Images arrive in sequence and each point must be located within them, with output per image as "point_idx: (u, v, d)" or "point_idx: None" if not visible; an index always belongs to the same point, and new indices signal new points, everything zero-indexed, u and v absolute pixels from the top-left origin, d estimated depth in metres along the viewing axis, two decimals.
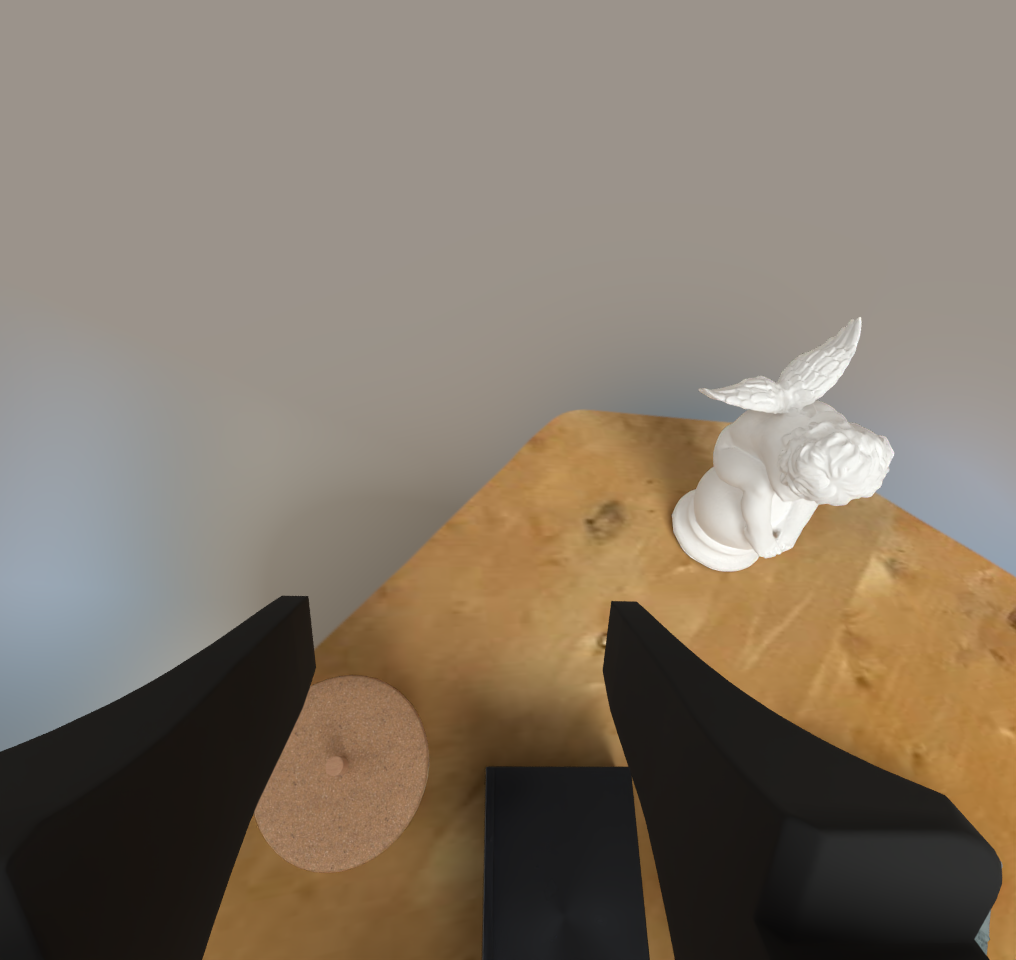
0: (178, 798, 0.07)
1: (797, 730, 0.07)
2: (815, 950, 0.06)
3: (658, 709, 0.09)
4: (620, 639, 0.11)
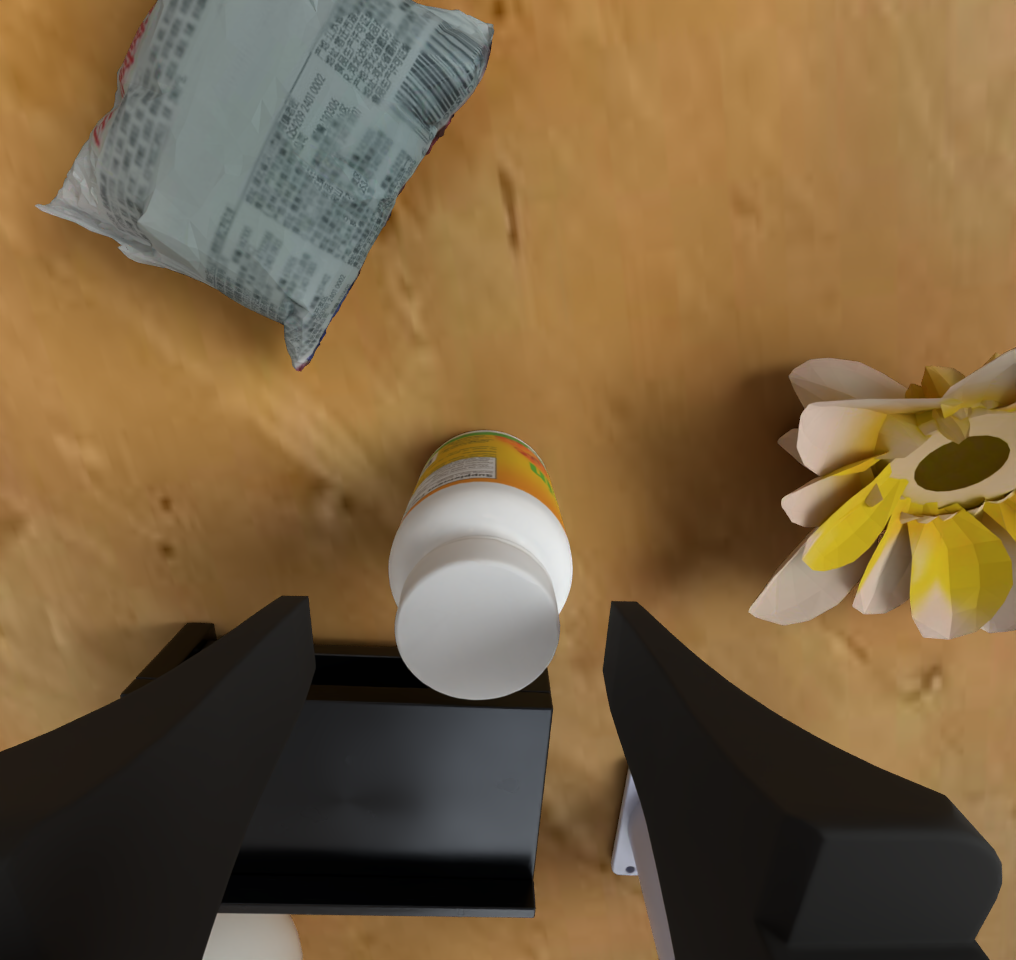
0: (179, 797, 0.07)
1: (797, 730, 0.07)
2: (815, 950, 0.06)
3: (658, 709, 0.09)
4: (620, 639, 0.11)
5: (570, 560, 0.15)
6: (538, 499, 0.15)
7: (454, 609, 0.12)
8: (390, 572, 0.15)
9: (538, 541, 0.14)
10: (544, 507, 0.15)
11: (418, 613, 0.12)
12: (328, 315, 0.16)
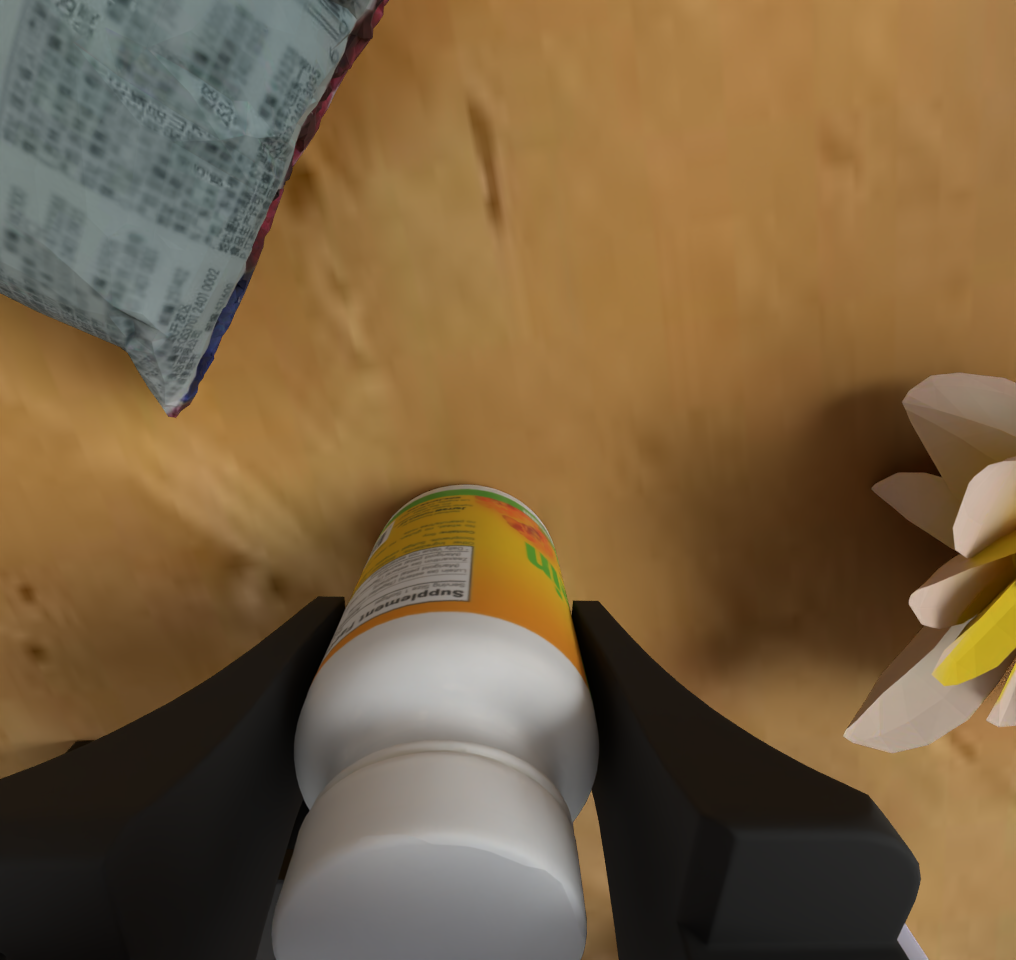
0: (238, 797, 0.07)
1: (736, 730, 0.07)
2: (735, 951, 0.06)
3: (608, 709, 0.09)
4: (579, 638, 0.11)
5: (596, 736, 0.09)
6: (540, 635, 0.09)
7: (382, 914, 0.06)
8: (295, 766, 0.09)
9: (542, 723, 0.08)
10: (550, 651, 0.09)
11: (313, 922, 0.06)
12: (201, 334, 0.10)
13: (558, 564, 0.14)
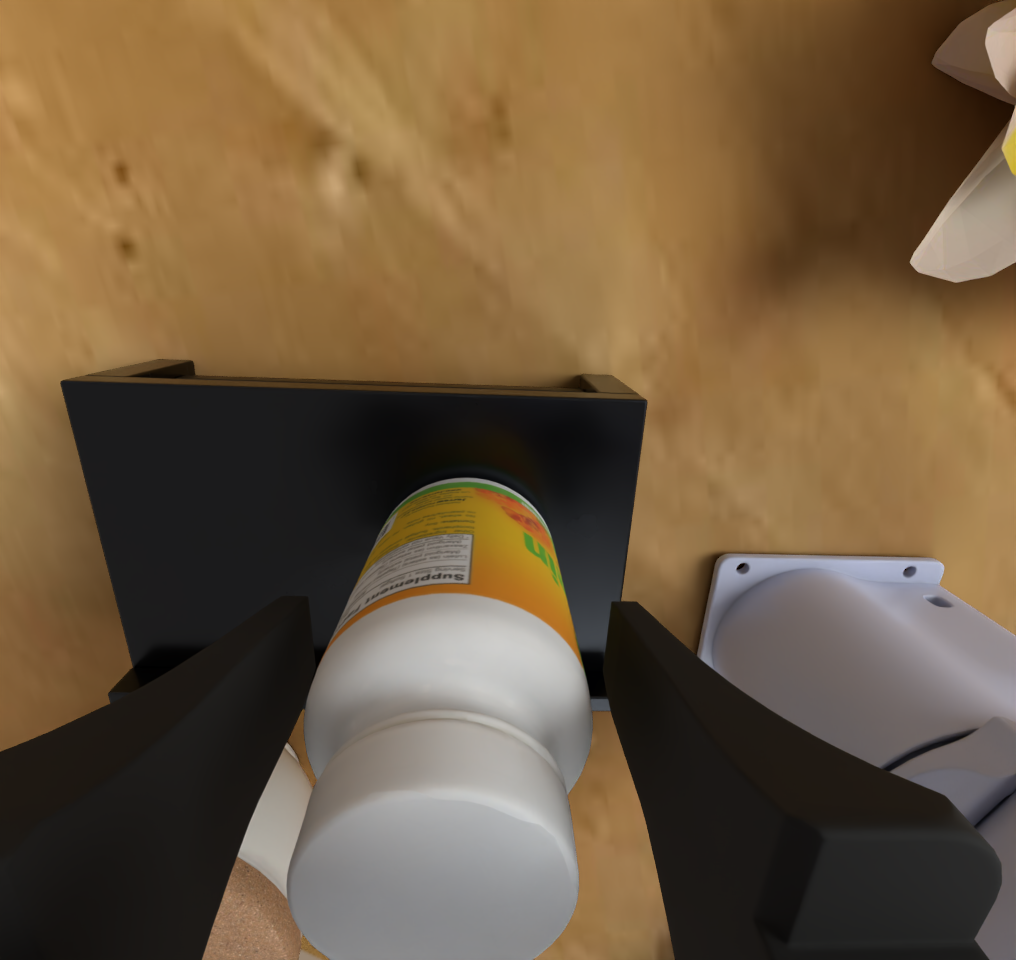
0: (179, 797, 0.07)
1: (797, 730, 0.07)
2: (815, 950, 0.06)
3: (658, 709, 0.09)
4: (620, 639, 0.11)
5: (589, 711, 0.09)
6: (536, 616, 0.09)
7: (389, 867, 0.07)
8: (305, 740, 0.09)
9: (538, 697, 0.09)
10: (546, 631, 0.09)
11: (325, 874, 0.07)
12: None
13: (555, 554, 0.14)
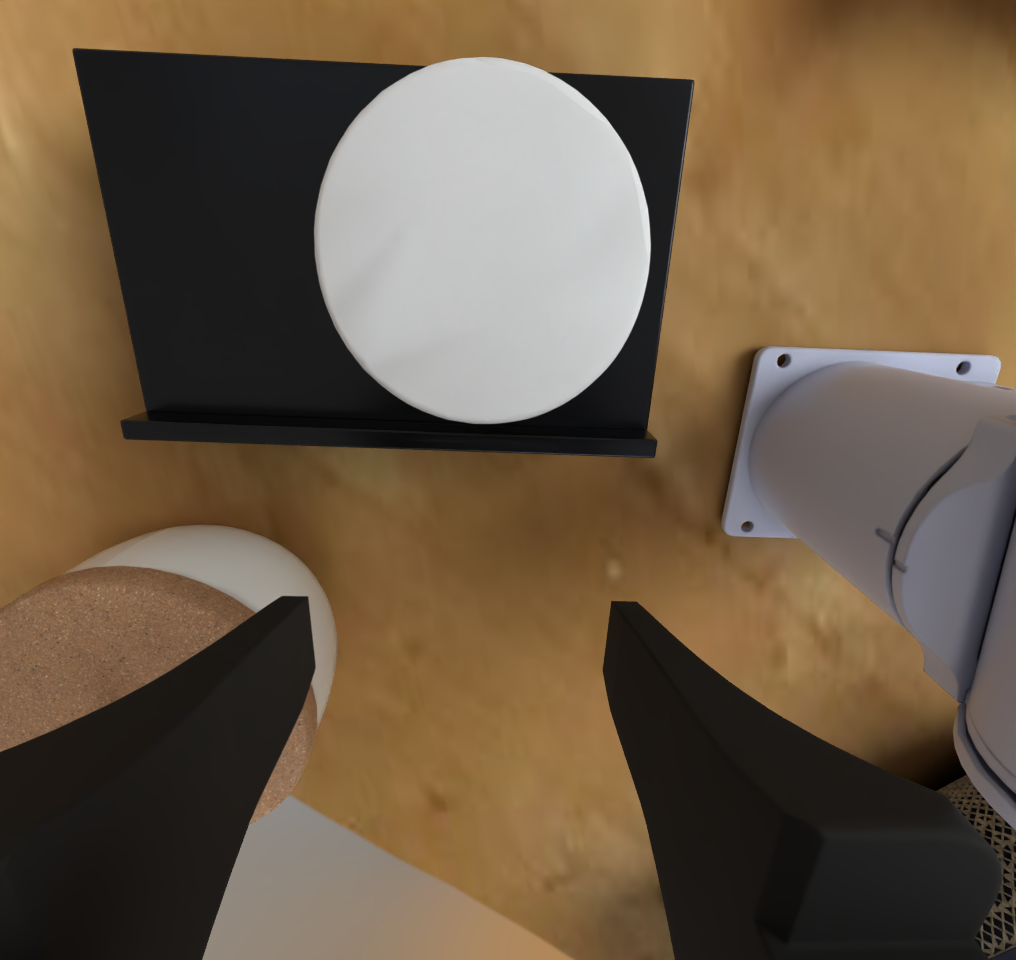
0: (178, 798, 0.07)
1: (797, 730, 0.07)
2: (815, 950, 0.06)
3: (658, 709, 0.09)
4: (620, 639, 0.11)
5: None
6: None
7: (433, 193, 0.06)
8: None
9: None
10: None
11: (359, 203, 0.06)
12: None
13: None
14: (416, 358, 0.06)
